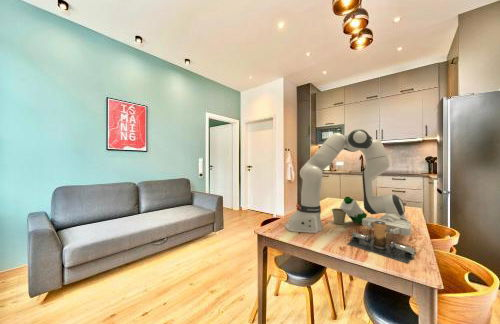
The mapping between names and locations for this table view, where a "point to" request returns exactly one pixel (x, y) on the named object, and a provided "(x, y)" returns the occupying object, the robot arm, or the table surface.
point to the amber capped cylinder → (380, 235)
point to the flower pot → (338, 216)
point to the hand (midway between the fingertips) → (380, 229)
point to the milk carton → (353, 210)
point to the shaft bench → (392, 250)
